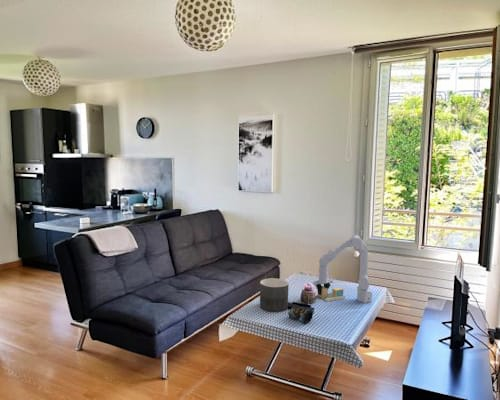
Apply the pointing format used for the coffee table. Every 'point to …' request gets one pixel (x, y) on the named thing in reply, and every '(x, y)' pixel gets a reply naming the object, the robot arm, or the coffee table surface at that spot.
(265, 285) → the planter
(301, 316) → the figurine
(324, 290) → the carton
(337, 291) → the carton faced
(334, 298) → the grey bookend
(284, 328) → the coffee table surface
